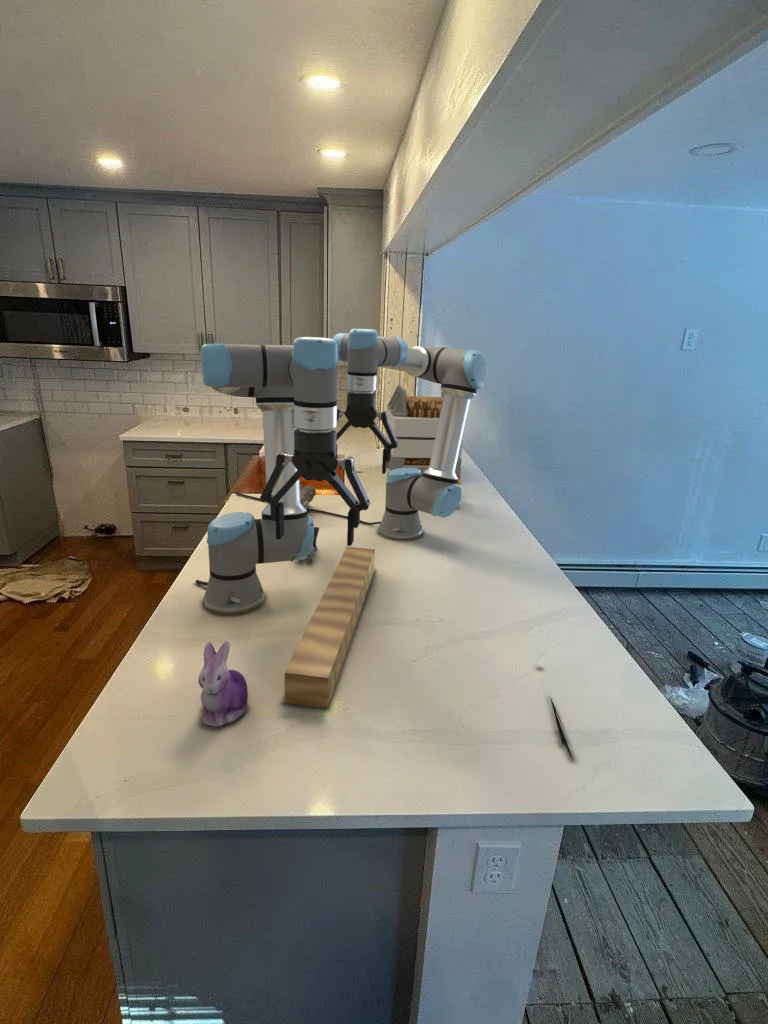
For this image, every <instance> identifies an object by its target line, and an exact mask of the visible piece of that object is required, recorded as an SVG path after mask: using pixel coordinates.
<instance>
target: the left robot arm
mask: <svg viewBox="0 0 768 1024" xmlns="http://www.w3.org/2000/svg"><path fill="white" fill-rule="evenodd" d="M200 357H201V360H200V361H201V374H202V375H201V377H202V383H203V384H204V385H205V386H206V387H209V388H211V389H213V390H214V391H216V392H218V393H221V394H224V395H228V396H232V397H238V398H255V405H256V406H257V408H259V410H261V412H262V425H263V427H262V429H263V448H264V468H265V486H264V488H263V490H262V493H261V495H260V497H259V498H260V500H259V501H261V502H266V505H265V507H264V508H263V509H262V510H261V518H256V517H254V515H253V514H252V513H250V512H244V511H235V512H229V513H226V514H223V515H220V516H218V517H216V518H213V519H212V520H211V521H210V522H209V524H208V526H207V529H206V530H207V532H206V533H207V538H206V544H207V548H208V565H209V567H208V568H209V577H208V581H202V580H199V579H195V583H196V584H198V585H201V586H206V589H205V592H204V595H203V599H204V600H203V601H204V606H205V607H206V608H207V609H208V610H209V611H211V612H213V613H217V614H222V615H237V614H244V613H247V612H250V611H252V610H254V609H257V608H258V607H259V606H261V605H262V604H263V602H264V600H265V594H264V592H265V591H264V588H263V586H262V583H261V581H260V578H259V576H258V574H257V567H256V565H259V564H260V565H261V564H270V563H282V562H294V561H299V560H301V559H302V560H305V559H308V558H307V557H308V556H309V555H310V553H311V550H312V546H313V540H314V527H315V526H314V525H315V523H314V517H313V516H312V515H310V514H308V511H307V509H306V508H307V507H306V508H305V507H303V506H302V505H301V503H300V486H301V484H300V481H301V480H300V479H301V478H302V479H304V480H305V481H316V482H323V481H326V482H327V483H328V485H331V486H332V488H333V489H334V490H335V491H336V492H337V494H338V495H339V496H340V498H341V499H342V500H343V501H344V502H345V504H346V505H347V506H348V507H349V510H348V511H347V516H348V518H347V531H346V532H347V534H346V547H352V545H353V543H354V541H355V529H358V527H359V526H360V524H361V522H360V520H361V511H367V510H368V509H369V508H370V505H371V500H370V498H369V496H368V494H367V492H366V490H365V488H364V485H363V484H362V481H361V479H360V477H359V475H358V472H357V470H356V469H355V468H356V467H355V459H354V457H353V456H351V455H350V456H348V457H342V458H340V457H338V453H337V454H336V444H337V441H336V437H337V433H338V431H336V428H337V427H338V426H337V425H338V422H337V408H338V369H339V368H338V367H339V366H338V365H339V361H340V360H339V359H338V354H337V343H336V341H335V340H333V338H329V337H316V336H315V337H314V336H303V337H302V336H300V337H296V338H295V339H294V340H293V345H291V344H289V345H287V344H241V343H240V344H239V343H238V344H237V343H224V342H216V343H205V344H203V345H202V346H201V348H200ZM338 466H340V467H341V469H342V471H345V474H346V478H347V479H348V482H349V483H350V485H351V488H352V490H353V492H354V494H355V496H356V497H355V496H354V494H353V493H352V492H351V490H350V489H349V488H348V486H347V485H346V484H345V483H344V481H343V480H342V479H341V477H340V475H339V474H338V473H337V472H336V470H334V469H335V468H336V467H337V468H338ZM337 468H336V469H337Z"/></svg>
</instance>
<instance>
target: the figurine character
mask: <svg viewBox="0 0 768 1024" xmlns="http://www.w3.org/2000/svg"><path fill="white" fill-rule="evenodd" d="M313 527H314V540H313V546H312V550H311V553H310V555H309V556H308V557H307V558H306V559H308V563H311V562H312V559H315V557H316V553H317V552H318V551H319V549H318V546H317V543H318V541H317V539H318V535H319V531H320V527H319V526H313ZM298 561H299V562H300V563H302V562H303V559H301V560H298Z"/></svg>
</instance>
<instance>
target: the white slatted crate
mask: <svg viewBox="0 0 768 1024" xmlns="http://www.w3.org/2000/svg"><path fill="white" fill-rule="evenodd" d="M440 393H441V394H440V396H415V395H414V396H413V395H412V396H411V395H407V394H408V393H407V390H406V389H404V388H403V387H402V385H399V384H398V385H397V386H396V388H395V390H394V392H393V394H392V395H391V398H390V400H389V402H388V404H387V405H386V412H387V416H388V421H389V424H390V426H391V428H392V430H393V433H394V435H395V437H396V440H397V442H398V446H397V448H393V449H391V459H390V461H387V462H386V468H387V467H388V468H389V471H391V470H394V469H398V468H405V466H406V467H407V466H411V467H412V466H413V467H415V466H416V467H417V466H418V467H429V465H430V460H431V456H432V451H433V446H434V441H435V436H436V431H437V426H438V421H439V417H440V412H441V407H442V402H443V397H444V394H443V392H442V391H441V392H440ZM464 431H465V430H464ZM464 431H463V433H464ZM385 437H386V439H387V440H388V441H389V443H390V444H391V441H390V439H389V437H388V434H387V432H386V431H385ZM463 438H464V435H463V436H462V440H461V445H460V450H459V455H458V459H457V464H456V469H455V474H456V475H460V476H461V472H462V461H463V460H462V453H463V442H464V441H463ZM384 448H385V447H384V446H383V449H384Z"/></svg>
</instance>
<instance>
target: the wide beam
mask: <svg viewBox="0 0 768 1024" xmlns="http://www.w3.org/2000/svg"><path fill="white" fill-rule="evenodd" d="M375 566H376V549H374V548H364V547H353V546H346V547H345V549H344V551H343V553H342V555H341V558H340V559H339V561H338V563H337V565H336V567H335V569H334V572H333V573H332V576H331V578H330V580H329V582H328V584H327V586H326V588H325V590H324V591H323V594H322V596H321V598H320V600H319V602H318V604H317V606H316V608H315V610H314V612H313V614H312V616H311V618H310V620H309V622H308V624H307V626H306V628H305V631H304V633H303V635H302V637H301V638H300V640H299V643H298V645H297V646H296V648H295V650H294V653H293V655H292V656H291V659H290V661H289V662H288V664H287V667H286V669H285V671H284V674H283V675H284V703H285V704H293V705H301V706H307V707H309V706H310V707H317V708H324V709H328V708H329V706H330V703H331V699H332V697H333V693H334V691H335V688H336V685H337V682H338V678H339V676H340V673H341V670H342V667H343V664H344V661H345V658H346V655H347V652H348V649H349V647H350V644H351V641H352V638H353V636H354V632H355V629H356V626H357V624H358V620H359V618H360V615H361V611H362V608H363V605H364V602H365V600H366V597H367V594H368V591H369V588H370V585H371V582H372V579H373V576H374V573H375V568H376V567H375Z"/></svg>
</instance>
